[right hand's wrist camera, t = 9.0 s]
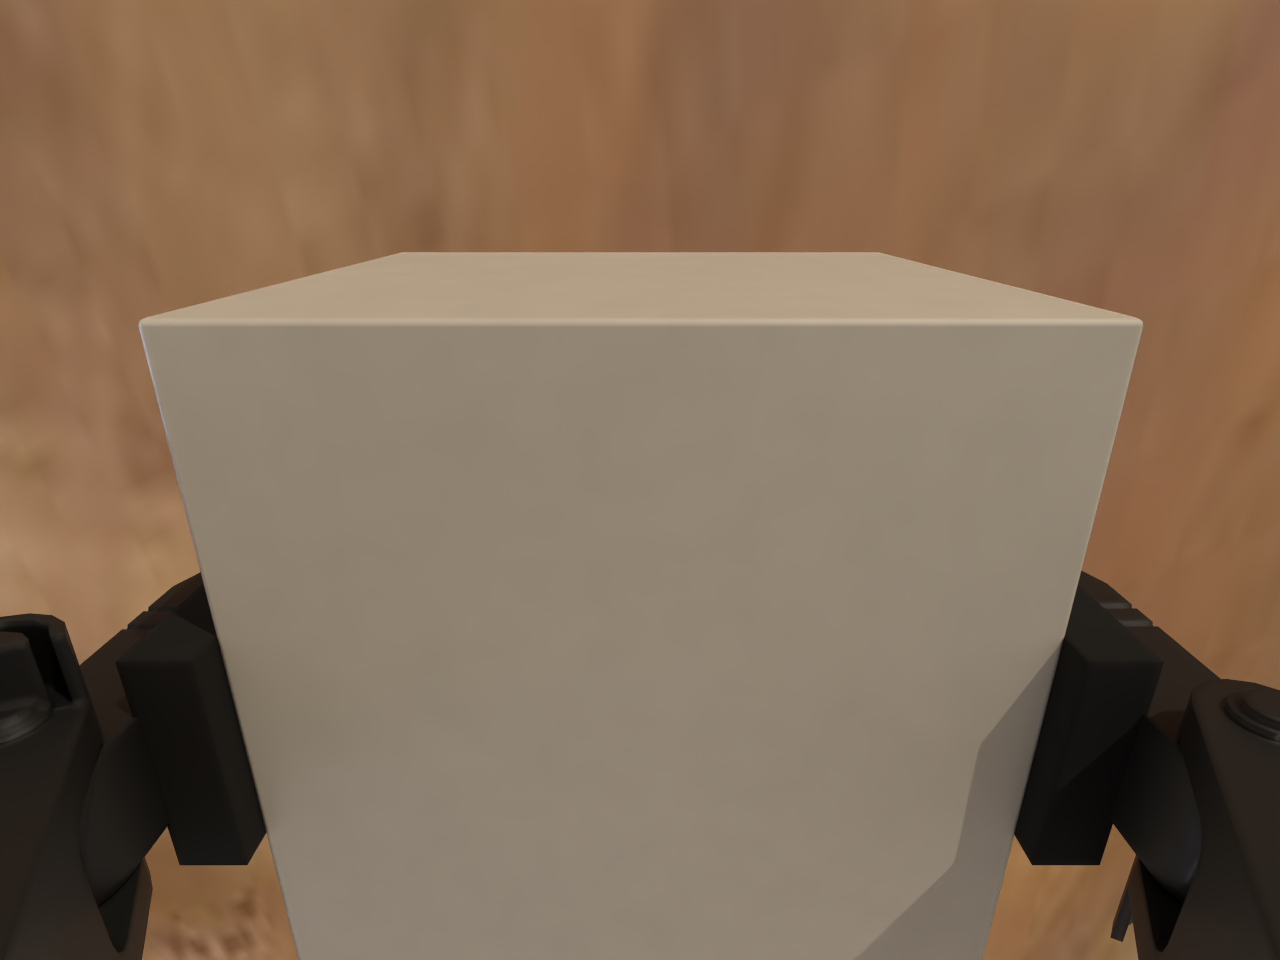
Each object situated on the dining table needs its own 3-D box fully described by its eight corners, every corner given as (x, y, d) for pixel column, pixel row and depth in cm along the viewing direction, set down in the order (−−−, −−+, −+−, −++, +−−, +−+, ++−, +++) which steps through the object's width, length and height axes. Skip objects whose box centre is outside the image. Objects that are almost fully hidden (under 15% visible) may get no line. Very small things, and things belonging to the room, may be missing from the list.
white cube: (831, 670, 17) (970, 1016, 10) (449, 670, 17) (310, 1017, 10) (880, 251, 13) (1149, 318, 6) (400, 251, 13) (133, 318, 6)
